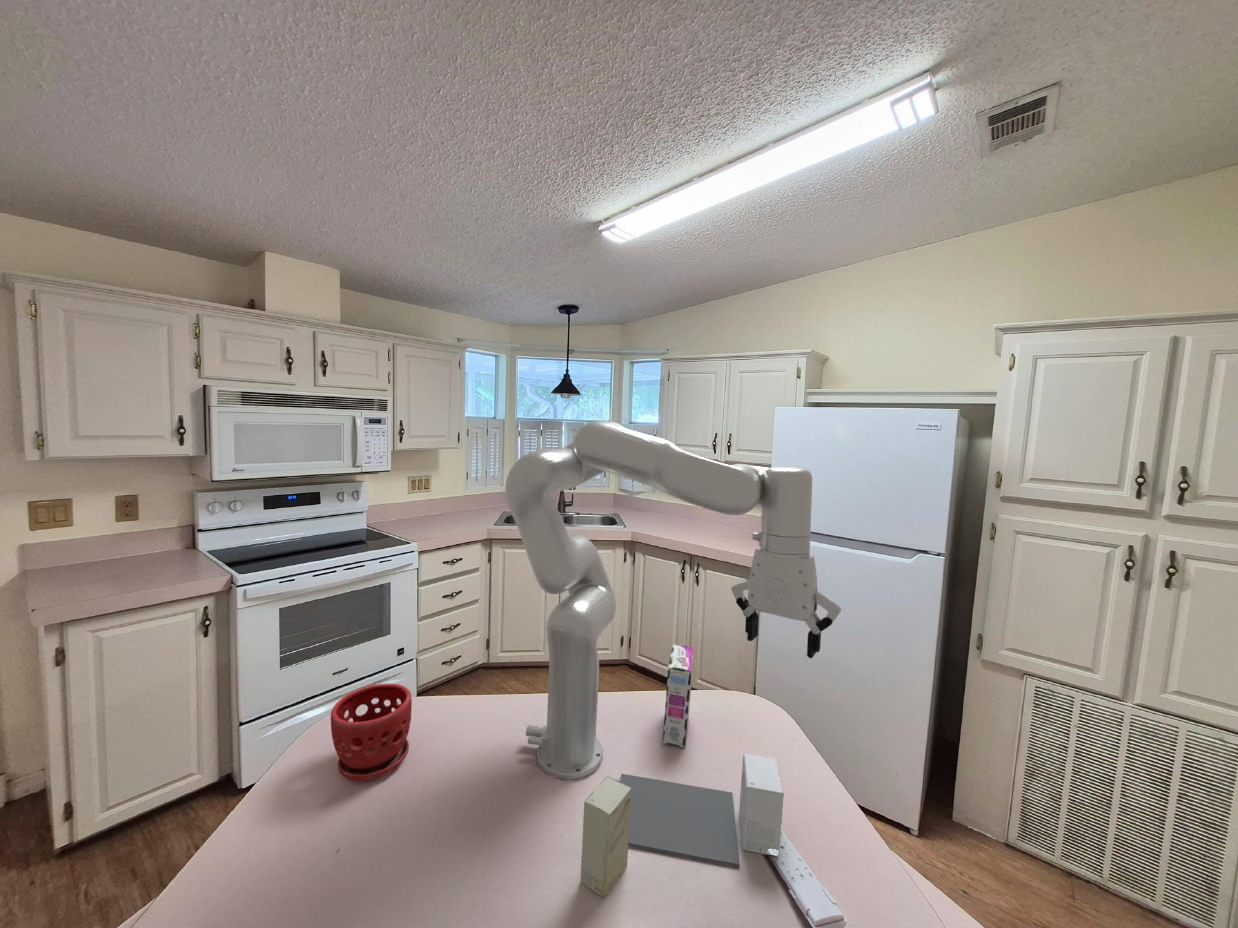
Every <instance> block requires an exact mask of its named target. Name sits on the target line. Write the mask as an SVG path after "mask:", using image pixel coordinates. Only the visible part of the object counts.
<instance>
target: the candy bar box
mask: <svg viewBox="0 0 1238 928" xmlns="http://www.w3.org/2000/svg"><path fill="white" fill-rule="evenodd" d="M694 650H695V649H694V647H691V646H687V645H686V646H684V645H679V644H672V647H671V651H670V658H669V661H668V667H667V680H666V681H667V682H666V691H665V692H666V693H665V704H664V705H665V706H664V707H665V708H664V717H663V718H664V719H663V720H664V722H663V730H662V731H663V733H662V741H661V742H662V744H663V745H668V746H673V747H677V748H683V749H685V748H686V743H687V735H688V728H689V717H690V709H691V708H690V706H691V693H692V681H693V667H694V666H693V665H694Z"/></svg>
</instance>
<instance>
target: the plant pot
mask: <svg viewBox="0 0 1238 928" xmlns="http://www.w3.org/2000/svg"><path fill="white" fill-rule="evenodd" d="M374 699H378V701H377V702H376V703H373V702H372V700H374ZM398 700H399V701H400V703H399V702H398ZM386 701H389V705H386V704H385V702H386ZM412 701H413V699H412V693H411V691H410V689H409V688H408V687H406V686H404V685H401V684H398V683H378V684H372V685H369V686H364V687H362V688H359V689H356V690H354V691H352V692H349V693H347V694H346V695H345V696H343V697H342V698H340V699H339V700H338V701H337V702H336V703H335V704H334V705H333V707H332V709H331V712H330V730H331V731H330V732H331V738H332V743H333V746H334V749H335V752H336V754H337V757H338V760H337V769H338V772H339V773H340V775H342V776H343V777H344V778H346V779H348V780H351V781H356V782H365V781H366V782H367V781H370V780H375V779H378V778H381V777H383V776H385V775H387V774H390V773H391V772H393V771H394V770H395V769H397V768H398V767H399V766H400V765H401V764H402V763H403V762H404V760H405V758H406V757H407V755H408V753H409V749H410V742H409V740H408V739H407V738H408V736H409V731H410V725H411V721H412V708H413V707H412V705H413V704H412V703H413V702H412ZM363 705H365V706H367V710H366V712H365V713H363V714H361V715H358V714H357V712H356V711H357V709H358V708H359V707H360V706H363ZM376 709H379V711H378V712H376ZM393 709H394V711H393ZM347 712H348V713H347ZM346 713H347V715H346V717H345V714H346ZM351 719H352V721H350V720H351Z"/></svg>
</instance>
